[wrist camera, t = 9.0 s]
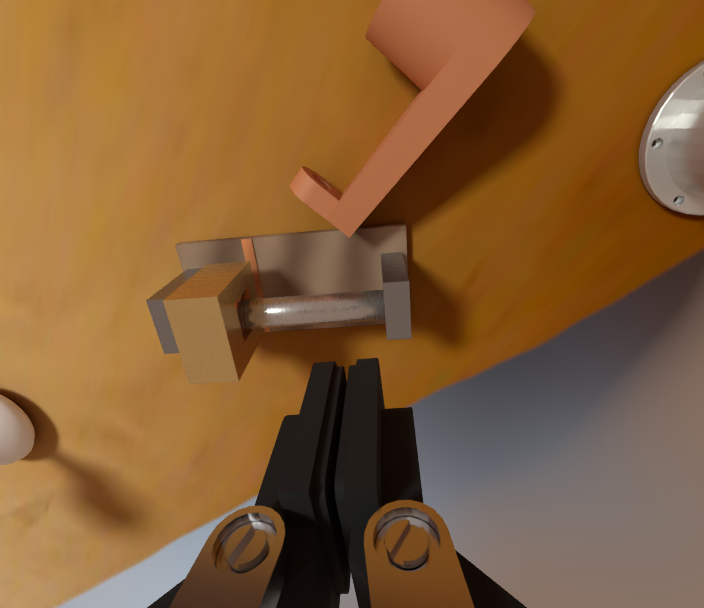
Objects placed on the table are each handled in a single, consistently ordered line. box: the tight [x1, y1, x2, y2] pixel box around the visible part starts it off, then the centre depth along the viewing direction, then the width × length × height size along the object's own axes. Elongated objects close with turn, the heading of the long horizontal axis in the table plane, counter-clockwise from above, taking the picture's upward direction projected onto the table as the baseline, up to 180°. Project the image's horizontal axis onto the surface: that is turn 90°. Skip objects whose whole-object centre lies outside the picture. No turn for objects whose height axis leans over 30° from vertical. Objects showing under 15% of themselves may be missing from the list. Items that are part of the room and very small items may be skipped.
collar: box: [163, 261, 265, 384], centre depth 33 cm, size 4×7×8 cm, turn 5°
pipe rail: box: [146, 252, 411, 354], centre depth 35 cm, size 21×5×8 cm, turn 95°
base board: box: [176, 223, 408, 333], centre depth 39 cm, size 22×10×1 cm, turn 95°
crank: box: [290, 0, 536, 238], centre depth 29 cm, size 20×8×8 cm, turn 142°
